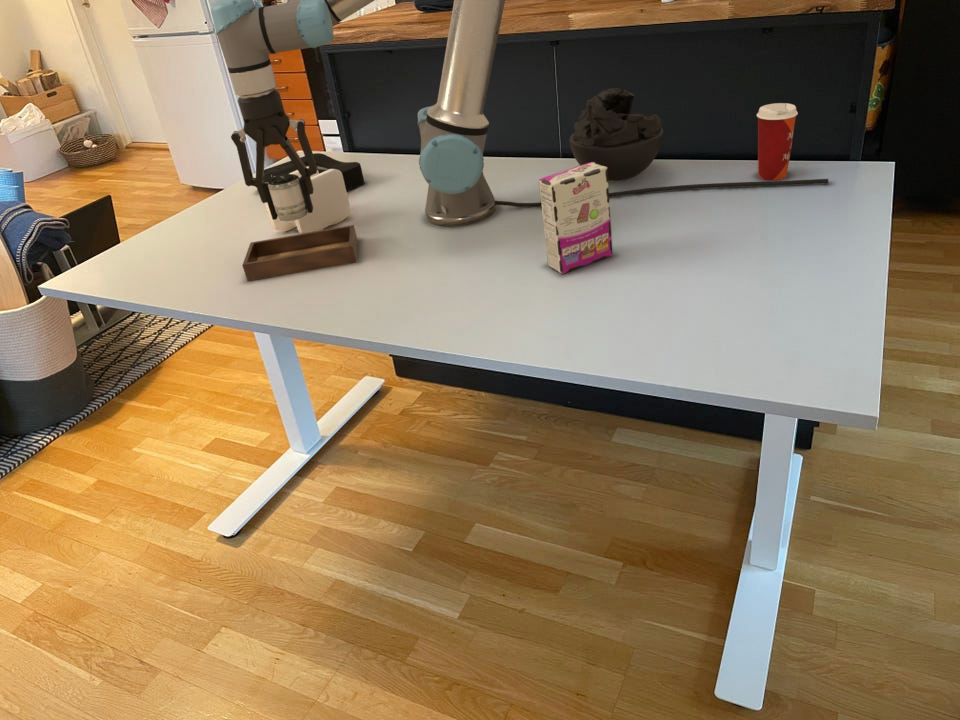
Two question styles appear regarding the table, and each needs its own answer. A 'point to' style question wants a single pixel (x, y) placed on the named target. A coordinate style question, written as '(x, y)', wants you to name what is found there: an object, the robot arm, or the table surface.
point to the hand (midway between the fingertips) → (293, 213)
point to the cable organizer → (320, 204)
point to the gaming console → (322, 170)
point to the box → (301, 253)
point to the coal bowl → (616, 135)
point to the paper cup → (775, 139)
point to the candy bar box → (576, 217)
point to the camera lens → (287, 197)
